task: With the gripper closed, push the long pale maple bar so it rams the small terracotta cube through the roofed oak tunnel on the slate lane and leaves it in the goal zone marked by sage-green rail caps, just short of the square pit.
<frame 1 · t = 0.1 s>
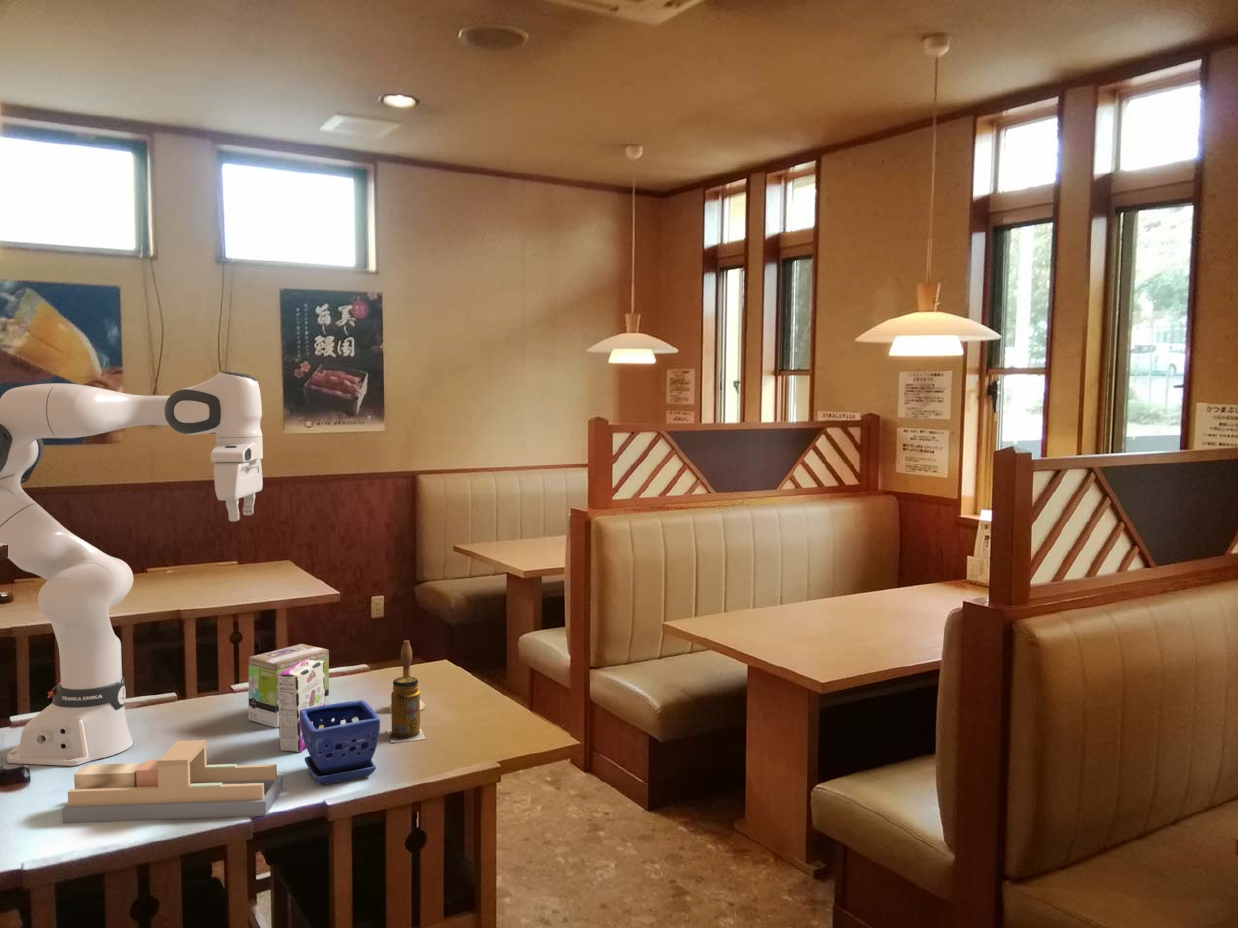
hand: (241, 517, 196), 48 cm above the table, fingers open, 8 cm apart
candy bar box: (302, 743, 201), on the table
tea box: (290, 716, 218), on the table
hand bell: (407, 708, 224), on the table
maple bar: (110, 793, 169), point 2 cm above the table, touching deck
condiment: (405, 735, 206), on the table
flower pot: (340, 773, 185), on the table
terracotta cube: (157, 791, 170), point 2 cm above the table, touching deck
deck: (177, 804, 170), on the table
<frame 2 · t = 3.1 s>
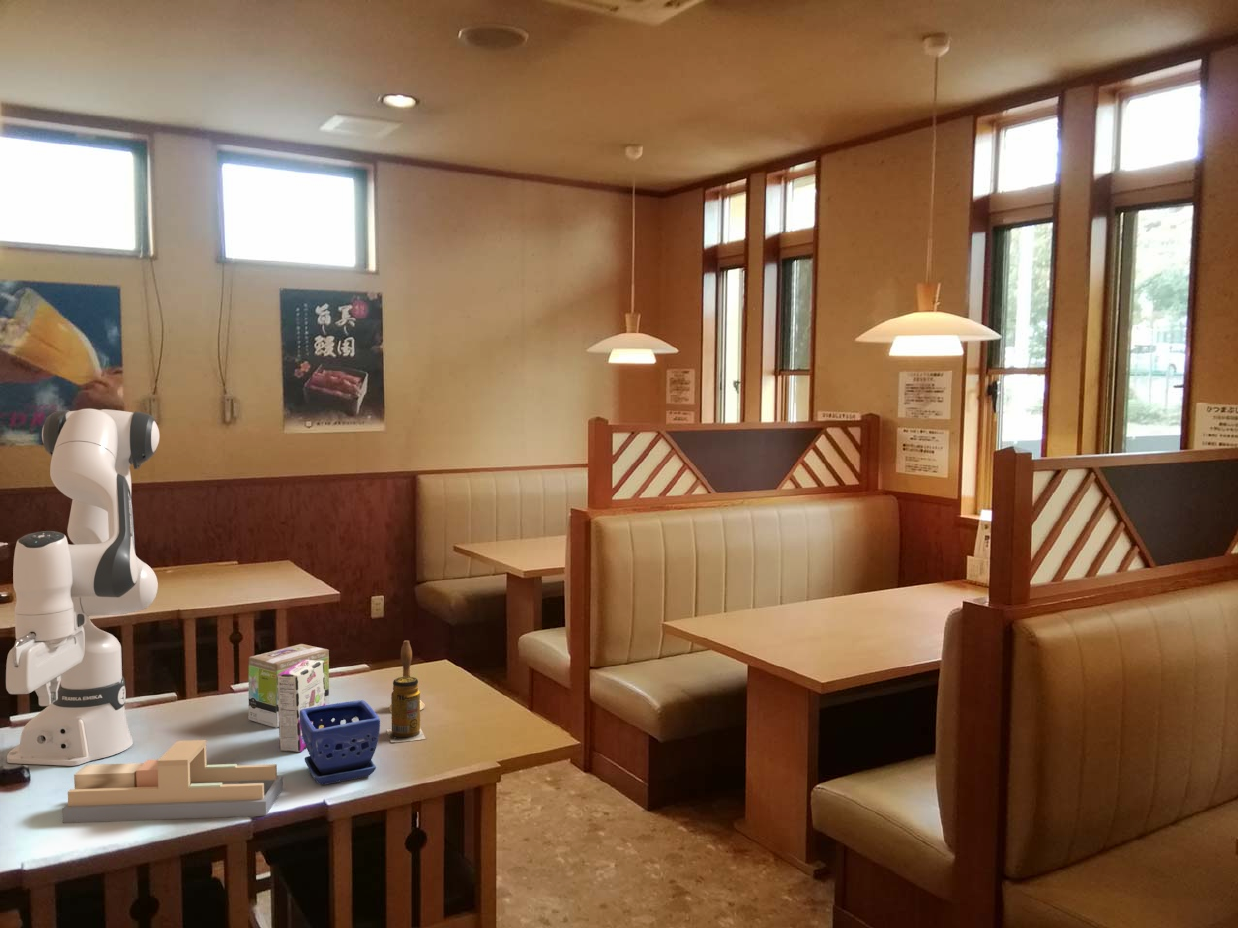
hand: (48, 703, 167), 19 cm above the table, fingers closed
nothing on the table moved.
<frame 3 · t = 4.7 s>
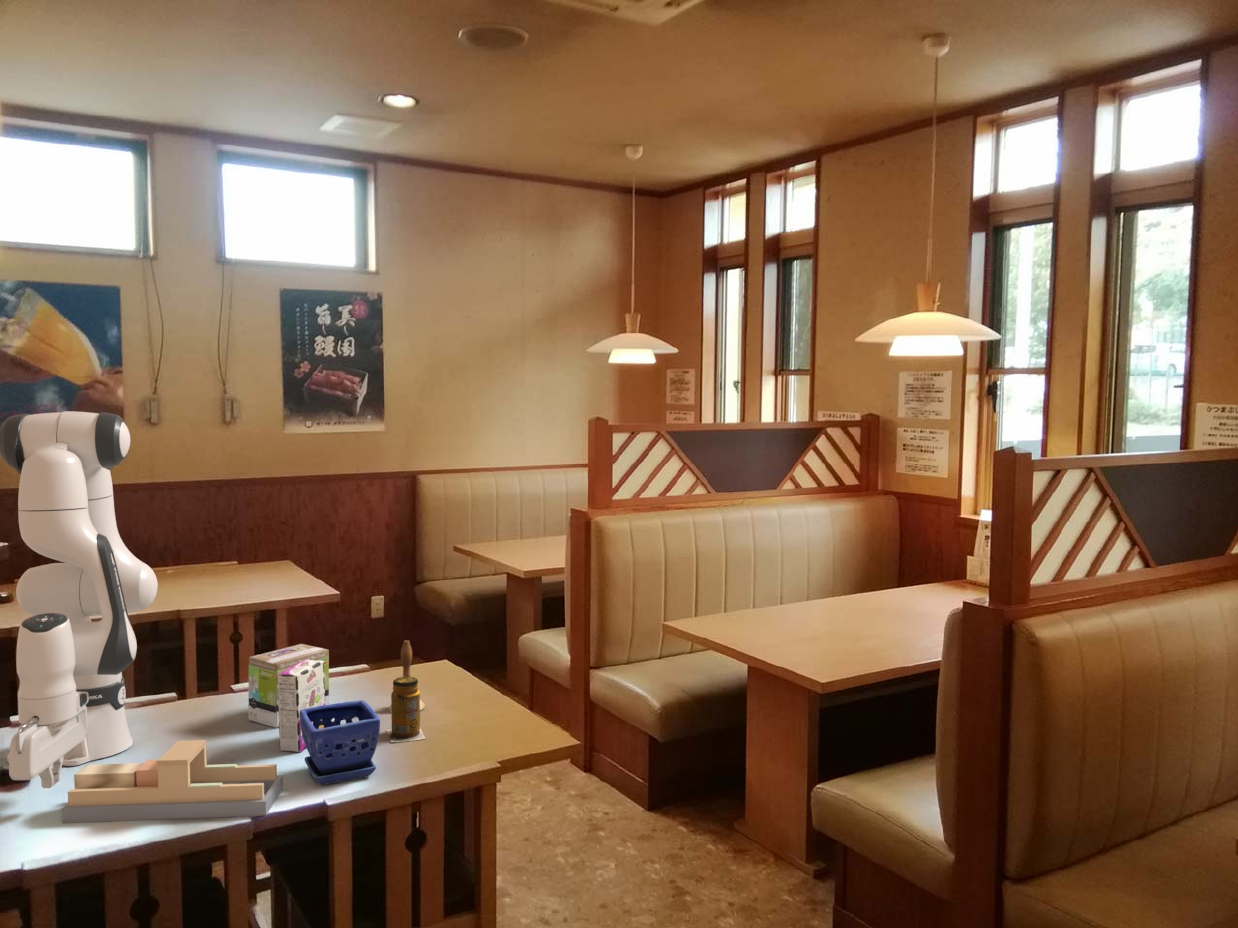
hand: (51, 784, 168), 4 cm above the table, fingers closed
nothing on the table moved.
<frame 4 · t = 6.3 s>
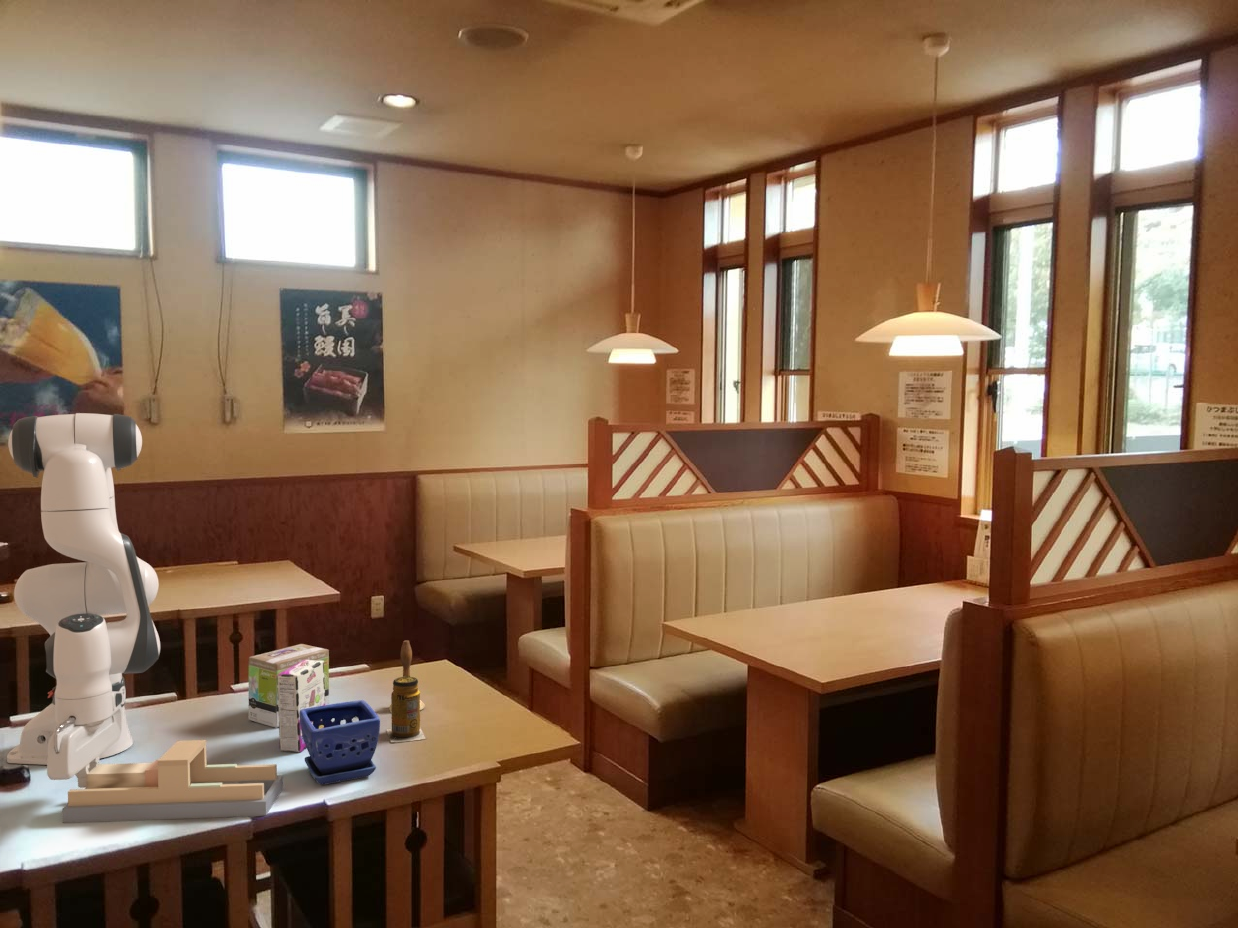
hand: (87, 784, 168), 4 cm above the table, fingers closed, pressing on maple bar
maple bar: (122, 792, 169), point 3 cm above the table, touching gripper, terracotta cube
terracotta cube: (166, 791, 170), point 3 cm above the table, touching maple bar
everything else where it was.
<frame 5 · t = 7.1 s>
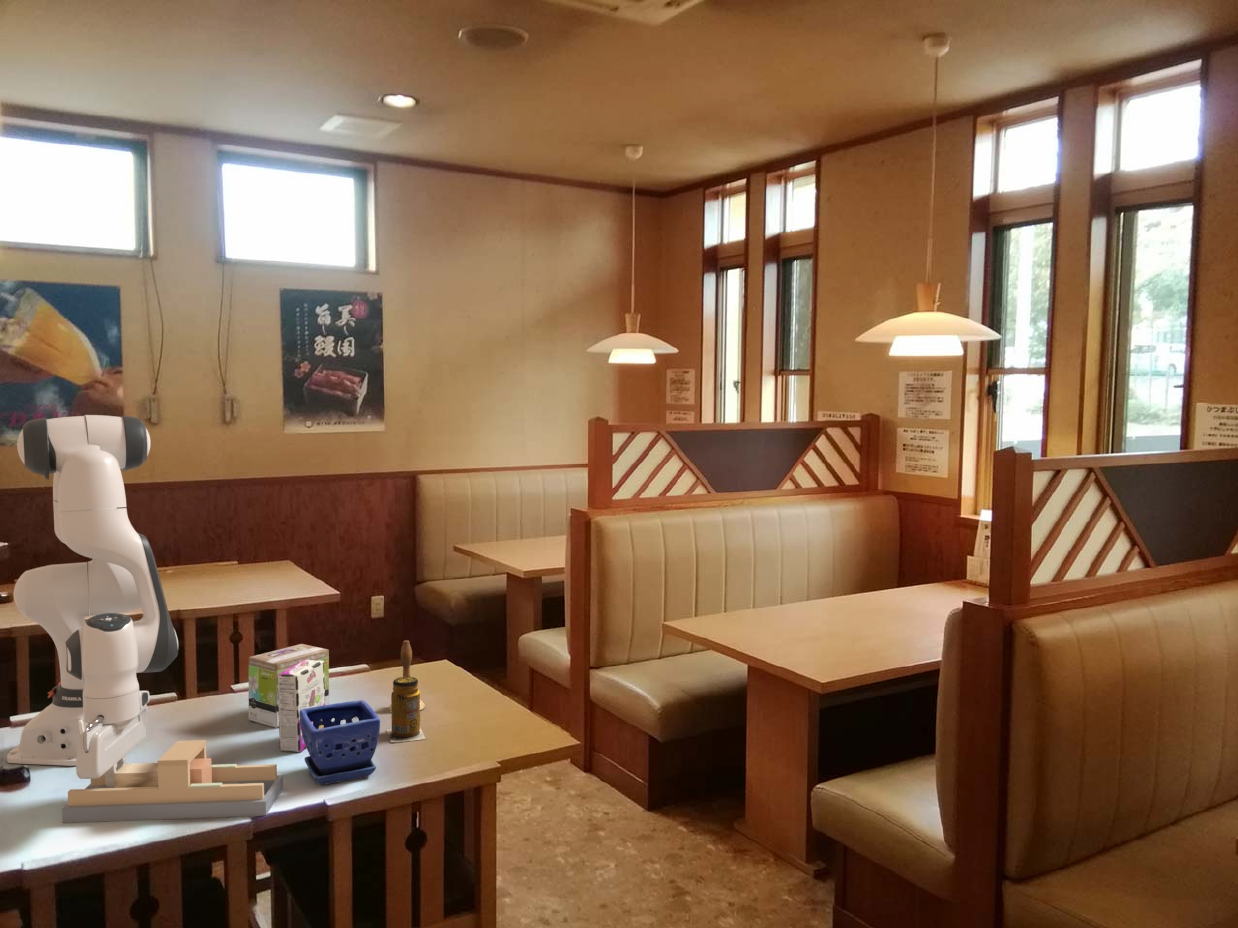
hand: (114, 783, 169), 4 cm above the table, fingers closed, pressing on maple bar
maple bar: (149, 792, 170), point 3 cm above the table, touching gripper, terracotta cube
terracotta cube: (192, 791, 170), point 3 cm above the table, touching maple bar
everything else where it was.
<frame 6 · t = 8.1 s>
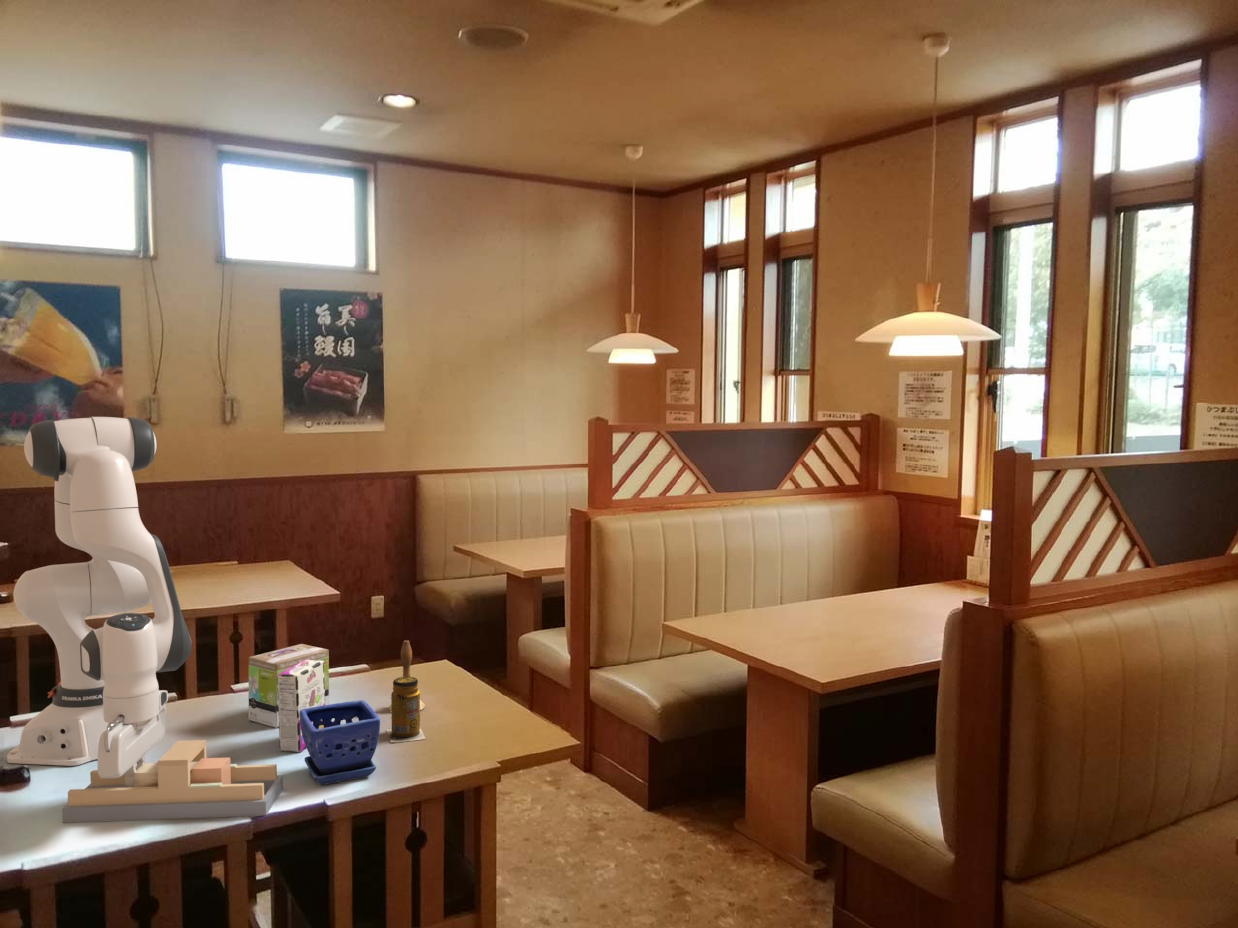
hand: (134, 782, 169), 4 cm above the table, fingers closed, pressing on maple bar
maple bar: (168, 791, 170), point 2 cm above the table, touching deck, gripper, terracotta cube
terracotta cube: (212, 790, 171), point 2 cm above the table, touching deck, maple bar
everything else where it was.
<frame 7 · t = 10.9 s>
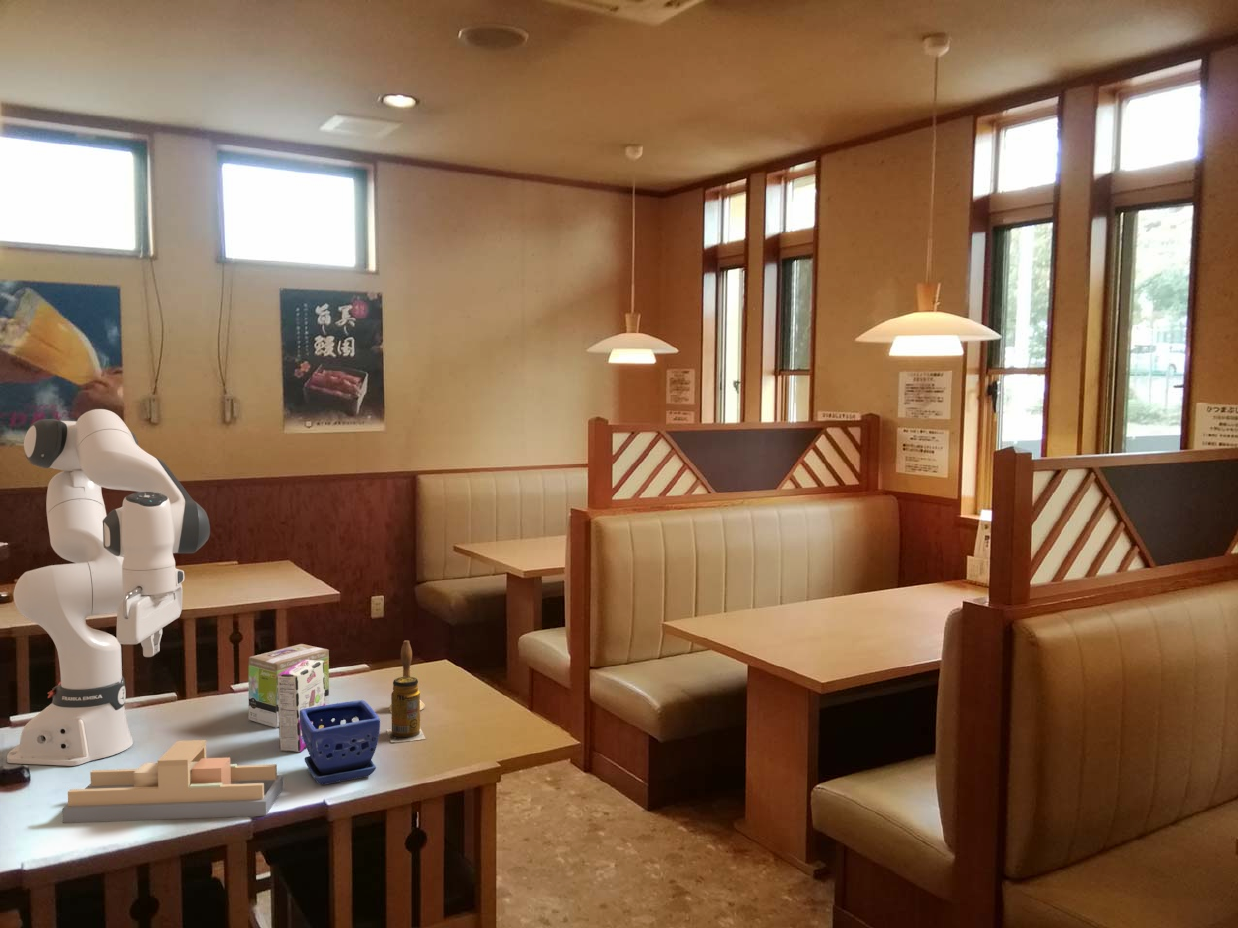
hand: (151, 654, 176), 25 cm above the table, fingers closed
maple bar: (168, 791, 170), point 2 cm above the table, touching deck
terracotta cube: (212, 790, 171), point 2 cm above the table, touching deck
everything else where it was.
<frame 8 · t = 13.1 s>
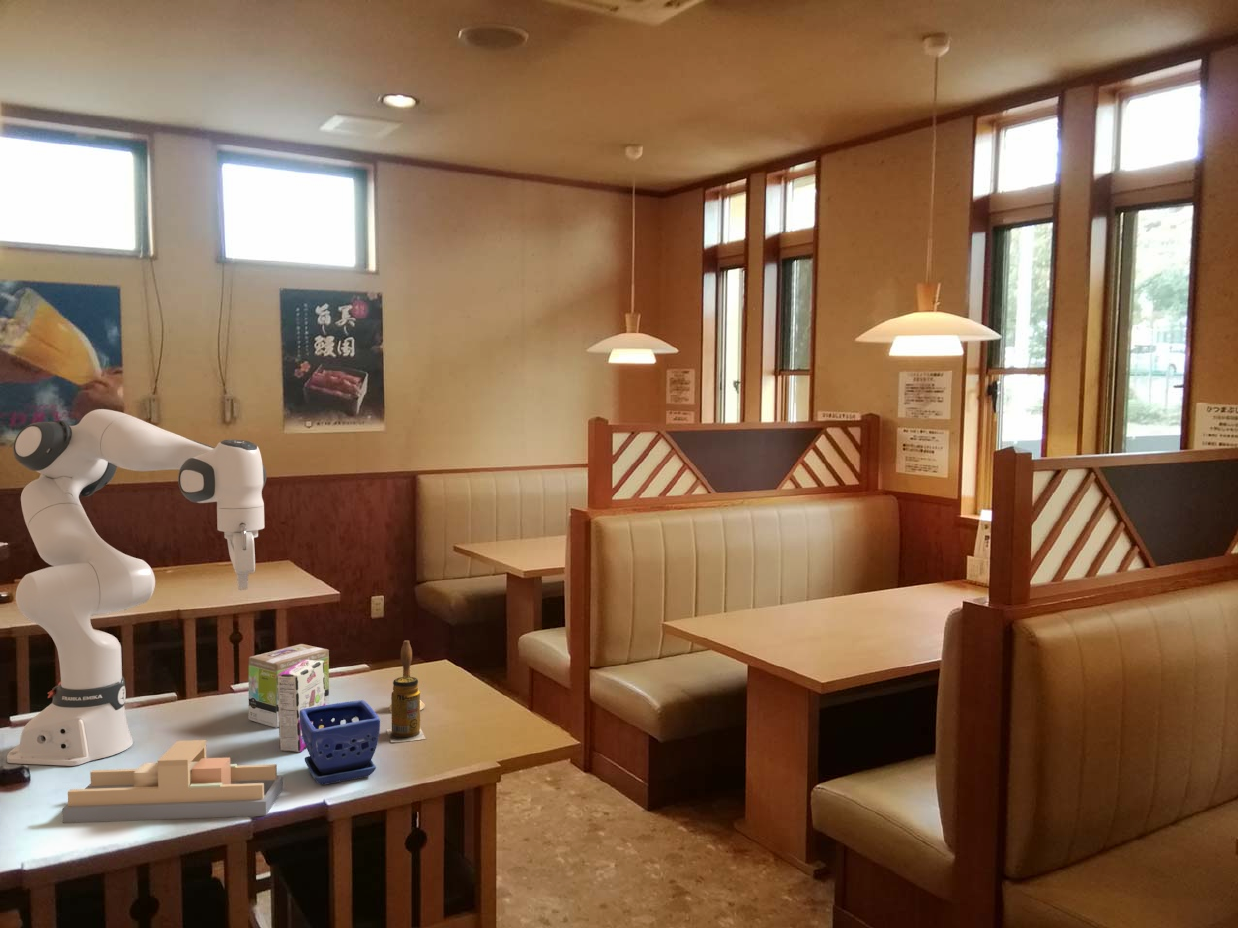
hand: (242, 588, 193), 34 cm above the table, fingers closed
nothing on the table moved.
at the end: terracotta cube 0.4 cm from the target spot, point 2.5 cm above the table; terracotta cube tilted 0° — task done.
